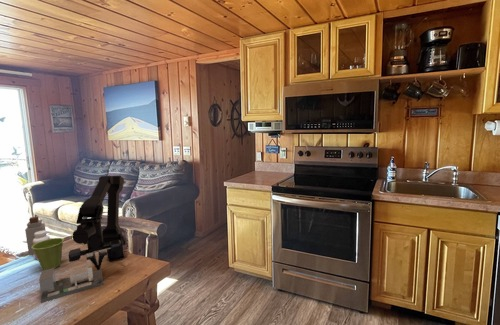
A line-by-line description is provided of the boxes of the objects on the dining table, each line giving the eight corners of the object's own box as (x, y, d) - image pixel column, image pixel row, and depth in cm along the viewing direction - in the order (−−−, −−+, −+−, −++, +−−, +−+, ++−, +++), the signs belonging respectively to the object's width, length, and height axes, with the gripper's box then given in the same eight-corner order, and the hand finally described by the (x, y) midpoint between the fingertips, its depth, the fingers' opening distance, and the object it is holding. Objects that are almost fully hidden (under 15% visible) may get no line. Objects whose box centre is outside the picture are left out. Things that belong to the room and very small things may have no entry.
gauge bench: (101, 271, 121) (99, 255, 120) (103, 284, 110) (101, 267, 110) (44, 287, 111) (41, 269, 110) (40, 302, 100) (38, 284, 99)
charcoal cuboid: (63, 288, 106) (62, 282, 105) (62, 291, 104) (62, 285, 104) (60, 289, 105) (59, 283, 105) (59, 292, 103) (58, 286, 103)
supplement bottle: (35, 257, 138) (31, 232, 136) (52, 253, 142) (48, 228, 140) (35, 262, 132) (31, 236, 131) (52, 257, 136) (48, 232, 135)
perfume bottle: (29, 255, 140) (23, 220, 137) (32, 250, 145) (27, 217, 143) (45, 252, 143) (40, 218, 140) (47, 247, 149) (43, 214, 146)
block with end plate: (92, 271, 118) (91, 259, 117) (93, 282, 110) (92, 269, 109) (71, 277, 114) (69, 264, 113) (70, 288, 106) (68, 275, 105)
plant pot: (61, 258, 135) (58, 235, 134) (71, 265, 128) (67, 241, 126) (31, 268, 126) (28, 244, 125) (39, 276, 119) (35, 251, 117)
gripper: (117, 223, 125) (121, 256, 127) (67, 232, 116) (72, 268, 118) (120, 230, 115) (124, 266, 117) (66, 241, 106) (71, 280, 108)
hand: (98, 269), depth 115 cm, fingers closed
